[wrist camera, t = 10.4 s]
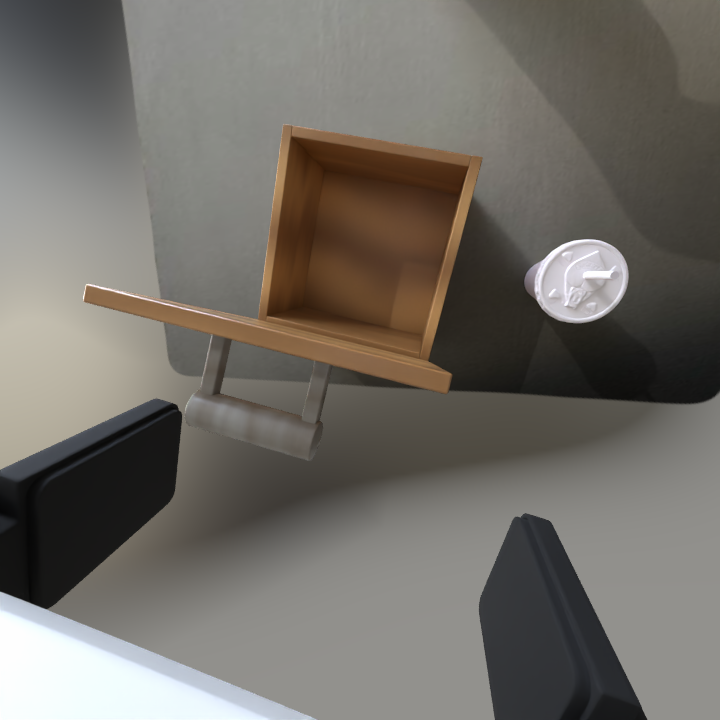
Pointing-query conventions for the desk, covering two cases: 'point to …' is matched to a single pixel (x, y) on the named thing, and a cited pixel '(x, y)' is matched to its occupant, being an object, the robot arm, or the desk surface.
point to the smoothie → (579, 281)
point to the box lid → (255, 419)
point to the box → (364, 238)
